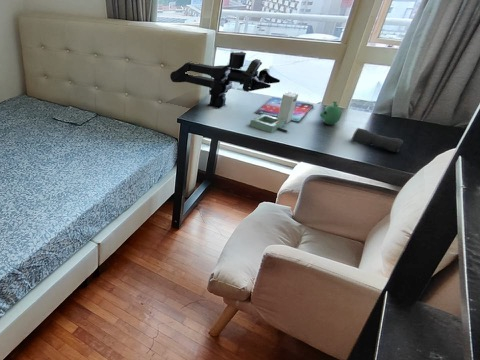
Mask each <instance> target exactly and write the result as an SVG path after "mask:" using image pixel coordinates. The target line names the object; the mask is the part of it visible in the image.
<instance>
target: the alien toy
mask: <svg viewBox="0 0 480 360" xmlns="http://www.w3.org/2000/svg"><path fill="white" fill-rule="evenodd" d="M332 103H333V104H332V105H326V106H325V107H324V108H323V111H322V112H320V114H319V116H320V117H321V118H322V122H323V123H324V124H325V125H331V126H332V125H334V124H336V123H338V122H339V121H340V119H341V117H342V109H341V108H340V106H339V104H338V102H337V101H336V100H335V101H332Z"/></svg>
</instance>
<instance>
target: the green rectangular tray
mask: <svg viewBox="0 0 480 360" xmlns="http://www.w3.org/2000/svg"><path fill="white" fill-rule="evenodd" d="M284 122H285V120H282V119H279V118H276V117H272V116H269V115H265V114H262V115H261V114H259V115H258V116H256V117H254V118H251V120H250V123H249V126H250V127H253V128H255V129H259V130H262V131H264V132H268V133H270V134H271V133H273V132H276V131H280V132H284V133H288V130H287V129H284V128H283V127H284V125H285V123H284Z"/></svg>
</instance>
